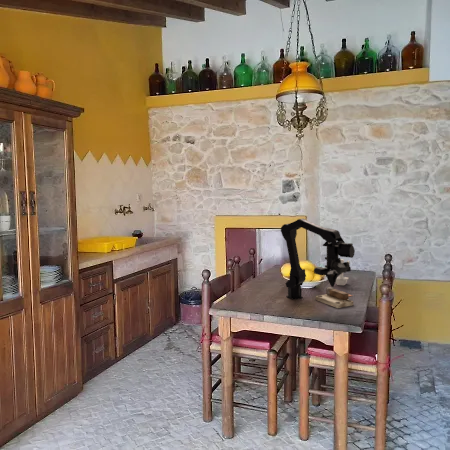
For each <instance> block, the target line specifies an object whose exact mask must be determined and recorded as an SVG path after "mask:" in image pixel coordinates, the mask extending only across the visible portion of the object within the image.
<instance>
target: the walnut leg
mask: <svg viewBox="0 0 450 450" xmlns="http://www.w3.org/2000/svg"><path fill="white" fill-rule="evenodd" d="M325 292H326V293H325V294H327V295H331V296H333V297H336V298H339V299H342V300H349V297H348V296H349V295H350V293H348V292H345V291H342V290H340V289H336V288H334V287H331V286H329V287H326V291H325Z"/></svg>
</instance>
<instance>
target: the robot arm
mask: <svg viewBox="0 0 450 450" xmlns="http://www.w3.org/2000/svg"><path fill="white" fill-rule="evenodd" d="M301 228H302V229H305V230H306V231H309V232H311V233H313V234H316V235H318V236H320V237H321V238H322V239H323V240H324V243H323V244H322V247H326V256H325V257H324V260H326V265H324V267H322V266H320V267H319V266H317V267H314V268H313V274H315V275H318V276H325V277H326V278H327V281H328V283H329V284H330V285H329V286H330V287H332V288H334V287H335V284H336V279H337V277H339V275H340V274H342V273H345V274H346V273H347V272H348V273H349V272H351V271H352V269H351V266H349V263H348V262H347V261H344V262H343V263H342V262H341V258H340V257H342V258H350V259H351V258H352V259H353V258H354V256H355V252H356V251H355V247H354V246H353V243H348V242H345V241H344V239H343V238H342V236H341V233H340V231H339V230H338V229H332V228H327V227H323V226H321V225H318V224H316V223H313V222H312V221H309V220H308V219H307V220H306V219H305V218H298V219H297V220H295V221H292V222H290V223H284V224H282V226H281V227H280V232H281V235H282V237H283V239H284V241H285V243H286V246H287V254H288V258H289V265H290V270H289V279H288V280H287V281H286V282H285V283H284V284H285V286H286V288H287V295H286V298H288V299H291V300H298V299H303V298H304V297H303V296H302V293H303V292H302V291H303V290H302V286H303V285H304V283H305V281H306V278H307V274H306V269H305V268H302V267H301V263H300V257H299V253H298V247H297V242H296V240H297V239H296V238H297V235H298V233H297V232H298V231H297V230H300V229H301Z"/></svg>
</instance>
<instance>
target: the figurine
mask: <svg viewBox="0 0 450 450" xmlns="http://www.w3.org/2000/svg"><path fill="white" fill-rule="evenodd" d="M340 259H341V258H340ZM341 262H342V263H343V262H345V259H341ZM346 262H348V263H349V266H350V260H347V261H346ZM350 267H351V266H350ZM349 278H350V277H347V276H344V273H342V274H340V275H339V276H338V277H337V279H336V282H335V284H336V285H337V286H345V285H347V283H348V280H349Z"/></svg>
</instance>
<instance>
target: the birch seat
mask: <svg viewBox="0 0 450 450" xmlns="http://www.w3.org/2000/svg"><path fill="white" fill-rule="evenodd" d="M315 301H318V302H320V303H322V304H325V305H328V306H331V307H333V308H335V309H340V308H346V307H351V306H354V300H351V299H348V300H342V299H339V298H336V297H333V296H331V295H327V294H326V293H325V294H319V295H316V296H315Z"/></svg>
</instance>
